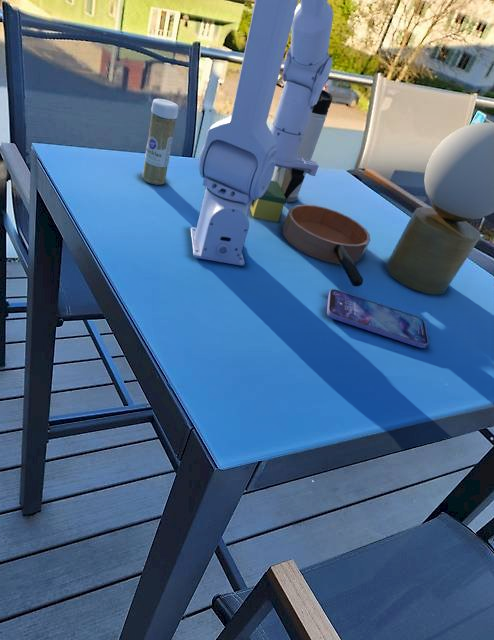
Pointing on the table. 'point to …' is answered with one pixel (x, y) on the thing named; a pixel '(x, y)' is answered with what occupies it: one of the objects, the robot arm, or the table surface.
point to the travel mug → (308, 139)
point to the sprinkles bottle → (159, 141)
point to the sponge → (269, 203)
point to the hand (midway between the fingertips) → (264, 204)
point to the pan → (324, 233)
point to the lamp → (447, 211)
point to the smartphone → (377, 318)
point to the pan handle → (348, 265)
